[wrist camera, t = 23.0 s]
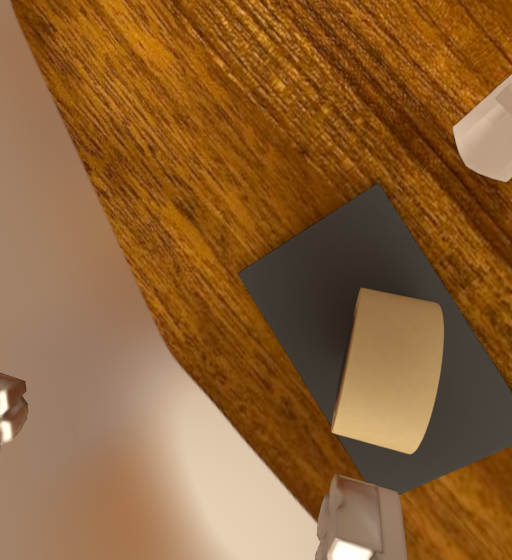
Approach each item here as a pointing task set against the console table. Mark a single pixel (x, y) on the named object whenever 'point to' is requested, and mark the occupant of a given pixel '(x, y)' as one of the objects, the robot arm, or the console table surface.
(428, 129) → the console table surface
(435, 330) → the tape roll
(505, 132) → the heart sculpture
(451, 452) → the mat
